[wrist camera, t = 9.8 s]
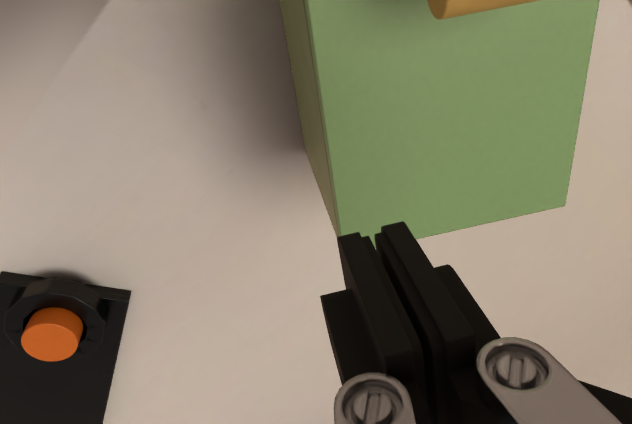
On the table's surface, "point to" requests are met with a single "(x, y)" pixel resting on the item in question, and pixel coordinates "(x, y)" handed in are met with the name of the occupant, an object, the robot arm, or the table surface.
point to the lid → (448, 107)
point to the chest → (307, 97)
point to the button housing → (65, 375)
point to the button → (52, 334)
